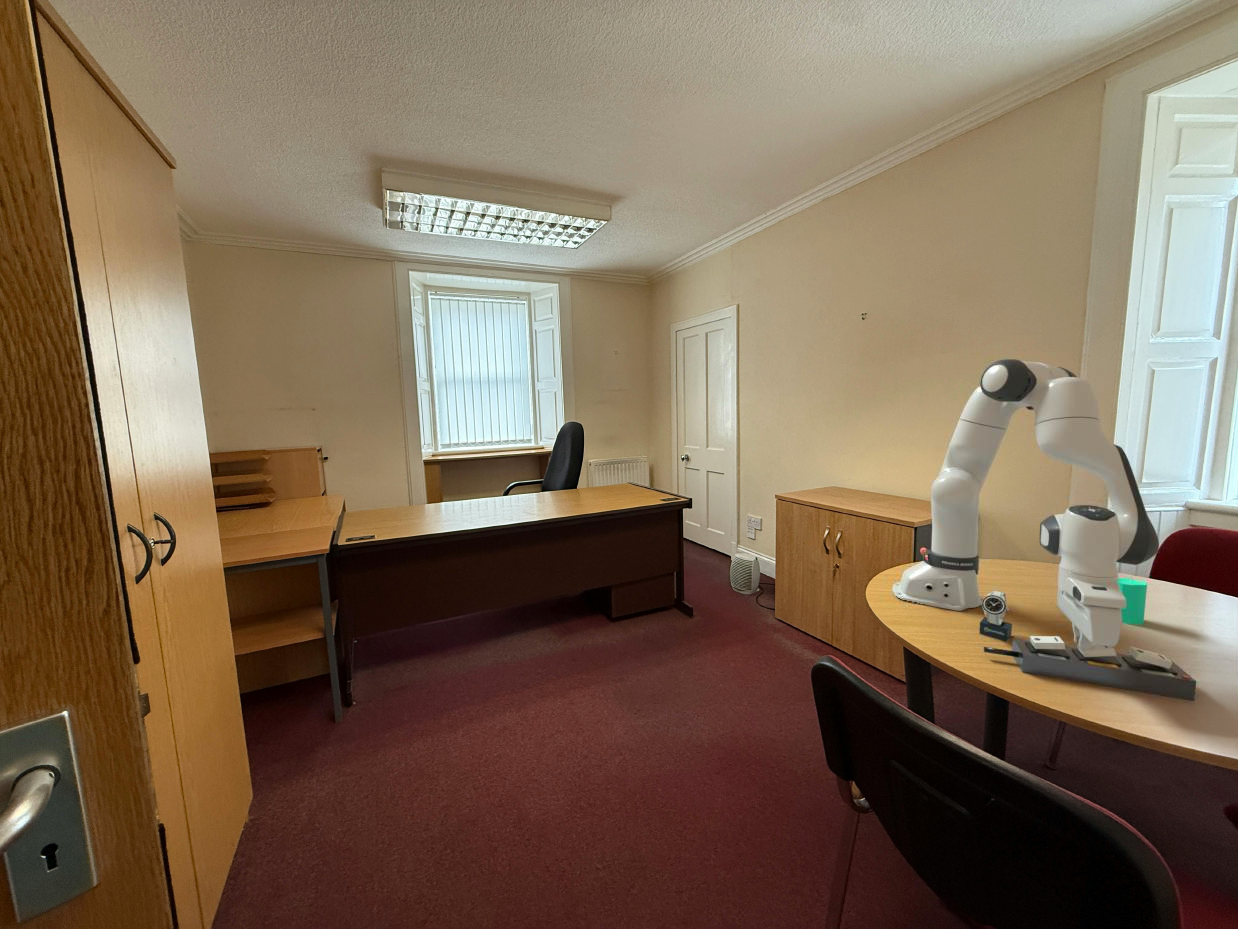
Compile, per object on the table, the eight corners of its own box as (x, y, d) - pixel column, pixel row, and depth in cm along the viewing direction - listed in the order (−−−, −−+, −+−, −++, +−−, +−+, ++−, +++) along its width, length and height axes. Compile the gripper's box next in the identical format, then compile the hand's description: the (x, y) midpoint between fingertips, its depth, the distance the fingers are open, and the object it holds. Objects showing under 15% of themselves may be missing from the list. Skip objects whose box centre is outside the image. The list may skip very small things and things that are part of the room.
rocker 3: (1136, 659, 96) (1138, 653, 96) (1128, 652, 99) (1130, 645, 99) (1169, 668, 94) (1172, 662, 94) (1160, 660, 97) (1163, 654, 97)
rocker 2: (1084, 657, 100) (1082, 650, 100) (1078, 650, 103) (1076, 643, 103) (1116, 655, 98) (1114, 648, 98) (1109, 648, 100) (1107, 641, 100)
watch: (977, 636, 119) (979, 594, 118) (986, 626, 124) (988, 585, 123) (1005, 644, 115) (1007, 600, 114) (1013, 633, 120) (1016, 591, 119)
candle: (1150, 625, 121) (1154, 580, 120) (1122, 624, 122) (1126, 579, 121) (1130, 615, 127) (1134, 571, 125) (1104, 614, 128) (1107, 571, 127)
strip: (987, 666, 106) (988, 648, 105) (979, 649, 113) (980, 632, 112) (1194, 700, 91) (1196, 679, 91) (1170, 679, 98) (1172, 659, 98)
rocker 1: (1035, 648, 104) (1034, 642, 103) (1030, 642, 106) (1029, 635, 106) (1065, 649, 101) (1064, 642, 101) (1059, 642, 104) (1058, 636, 104)
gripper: (1049, 567, 110) (1046, 624, 111) (1086, 599, 92) (1081, 667, 93) (1086, 570, 107) (1082, 629, 109) (1131, 604, 89) (1125, 673, 91)
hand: (1082, 646), depth 101 cm, fingers closed, pressing on rocker 2
